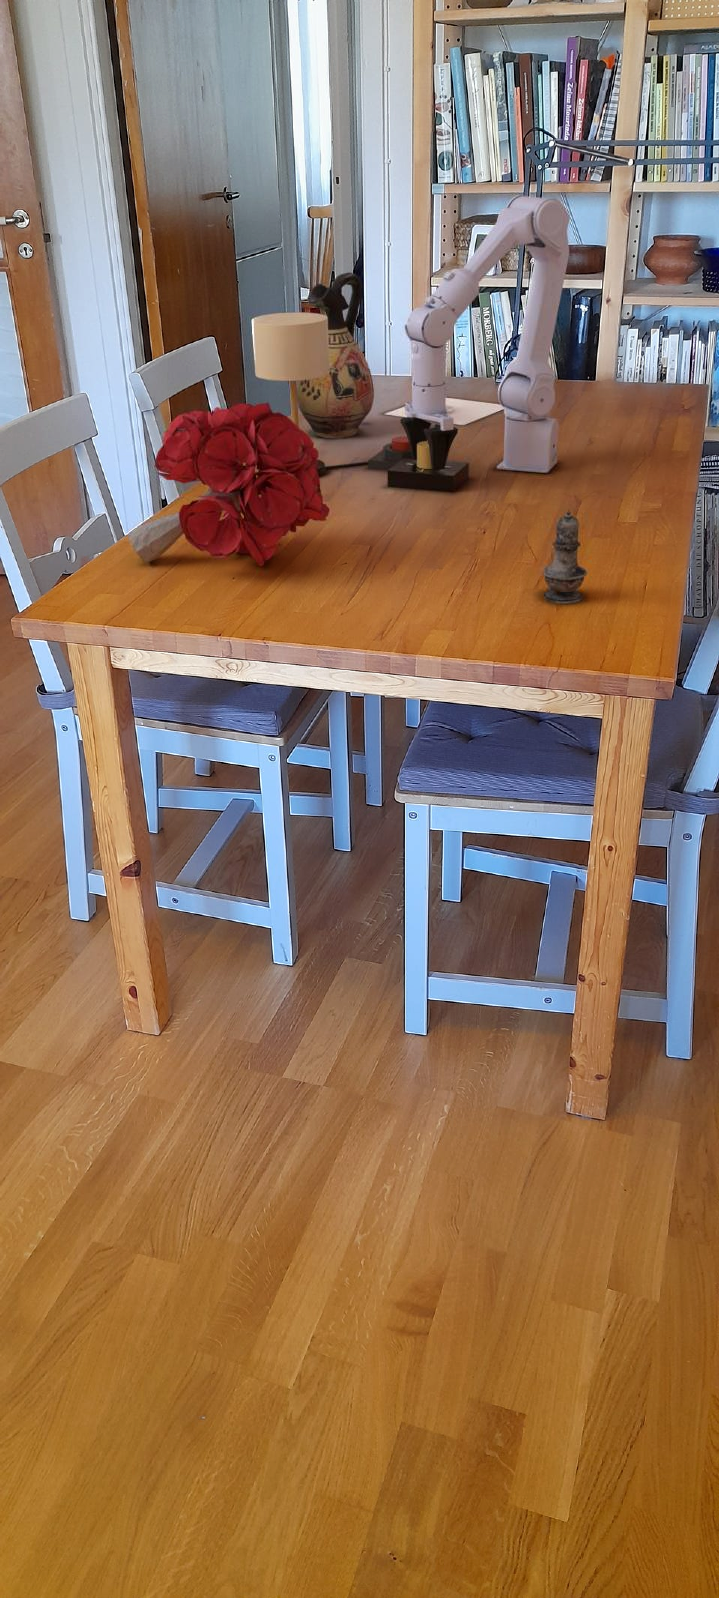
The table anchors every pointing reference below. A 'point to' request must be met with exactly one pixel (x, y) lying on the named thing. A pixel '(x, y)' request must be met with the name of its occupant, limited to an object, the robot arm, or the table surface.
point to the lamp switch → (400, 443)
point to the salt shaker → (565, 564)
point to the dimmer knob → (423, 455)
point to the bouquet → (236, 483)
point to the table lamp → (293, 354)
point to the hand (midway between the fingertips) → (428, 463)
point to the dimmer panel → (428, 476)
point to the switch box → (387, 458)
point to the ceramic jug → (338, 367)
